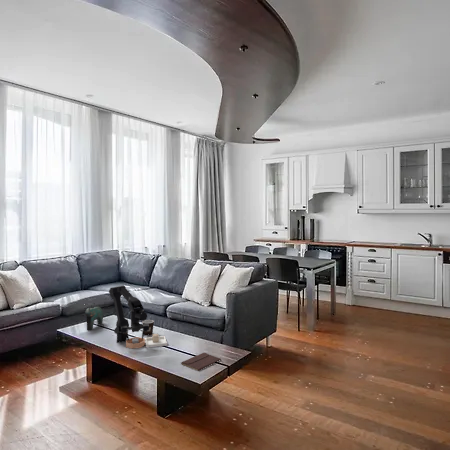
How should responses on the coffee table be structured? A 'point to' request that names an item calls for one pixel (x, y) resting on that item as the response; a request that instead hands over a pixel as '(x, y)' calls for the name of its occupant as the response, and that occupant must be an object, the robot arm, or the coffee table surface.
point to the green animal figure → (94, 316)
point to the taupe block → (155, 338)
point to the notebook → (200, 361)
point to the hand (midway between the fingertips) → (135, 340)
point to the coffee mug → (150, 331)
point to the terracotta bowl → (135, 345)
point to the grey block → (135, 341)
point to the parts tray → (154, 344)
